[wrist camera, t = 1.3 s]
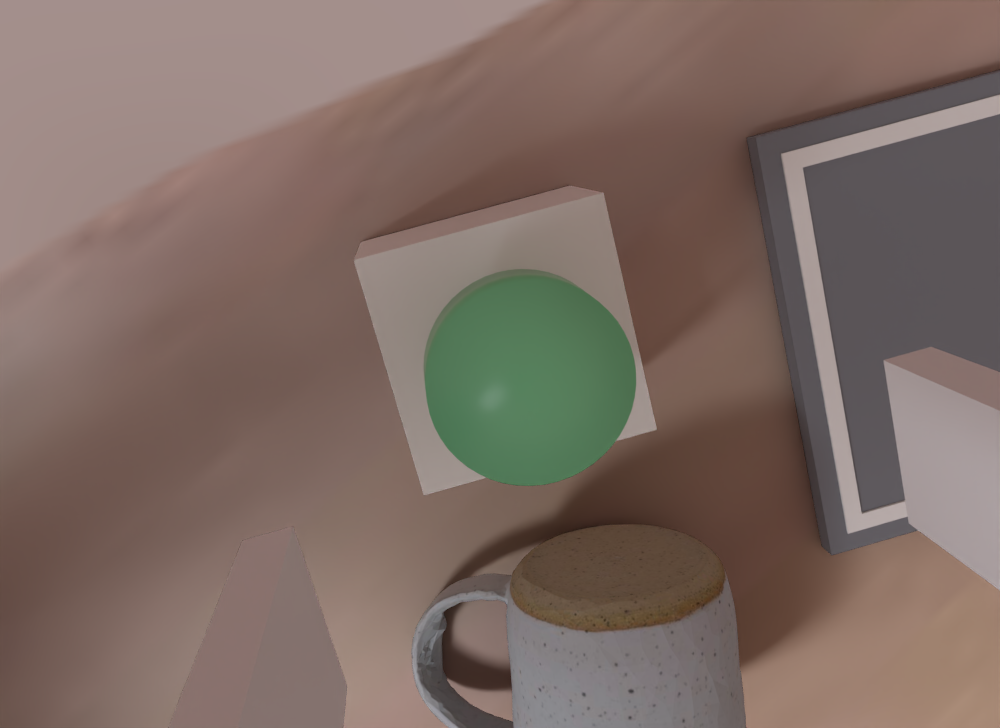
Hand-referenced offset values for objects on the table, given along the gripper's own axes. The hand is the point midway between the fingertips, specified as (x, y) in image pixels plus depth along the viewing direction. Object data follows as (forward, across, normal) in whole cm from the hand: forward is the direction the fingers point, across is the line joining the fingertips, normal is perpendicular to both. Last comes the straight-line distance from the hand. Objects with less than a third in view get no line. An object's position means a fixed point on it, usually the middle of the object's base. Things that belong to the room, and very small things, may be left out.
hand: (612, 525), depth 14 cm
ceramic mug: (+18, 0, -12) cm, 21 cm away
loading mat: (+17, +16, -4) cm, 24 cm away
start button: (+10, 0, 0) cm, 10 cm away
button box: (+17, 0, 0) cm, 17 cm away
